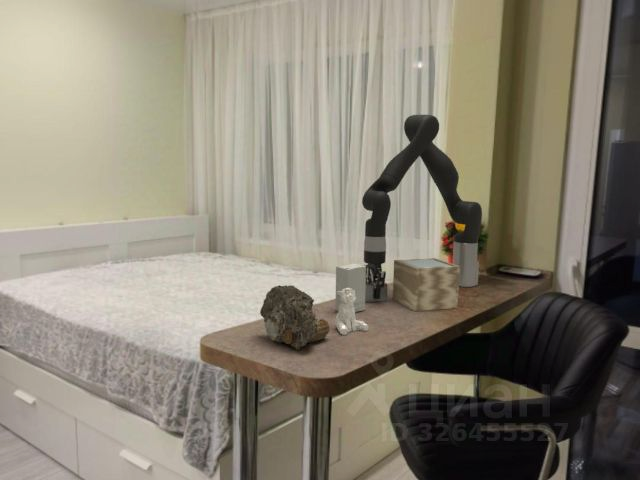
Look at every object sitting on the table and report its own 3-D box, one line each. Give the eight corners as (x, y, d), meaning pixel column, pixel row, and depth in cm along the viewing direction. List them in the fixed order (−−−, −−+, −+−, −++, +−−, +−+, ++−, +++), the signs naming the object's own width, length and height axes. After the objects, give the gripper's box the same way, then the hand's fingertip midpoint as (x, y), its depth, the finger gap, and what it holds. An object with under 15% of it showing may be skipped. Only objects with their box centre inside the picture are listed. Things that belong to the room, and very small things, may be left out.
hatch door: (432, 261, 186) (433, 259, 185) (452, 268, 173) (453, 265, 173) (399, 263, 181) (399, 260, 181) (417, 270, 169) (417, 267, 169)
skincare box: (353, 306, 173) (354, 262, 171) (366, 310, 169) (367, 265, 167) (334, 310, 168) (334, 265, 166) (346, 315, 163) (347, 268, 161)
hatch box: (432, 296, 189) (434, 258, 187) (457, 307, 174) (459, 266, 172) (392, 299, 184) (394, 260, 182) (414, 311, 169) (416, 268, 167)
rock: (262, 280, 132) (311, 264, 140) (251, 311, 143) (298, 294, 151) (297, 340, 124) (347, 320, 132) (283, 368, 134) (330, 348, 142)
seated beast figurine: (341, 336, 143) (342, 293, 141) (324, 327, 150) (325, 287, 148) (369, 331, 148) (370, 289, 146) (351, 323, 155) (352, 283, 153)
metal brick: (380, 297, 186) (381, 280, 186) (387, 300, 182) (387, 283, 181) (360, 298, 184) (360, 282, 183) (365, 302, 179) (366, 285, 178)
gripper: (394, 251, 175) (392, 301, 177) (376, 245, 188) (375, 291, 191) (373, 252, 172) (372, 303, 175) (356, 246, 186) (355, 293, 188)
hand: (373, 296), depth 183 cm, fingers closed on metal brick, 5 cm apart
